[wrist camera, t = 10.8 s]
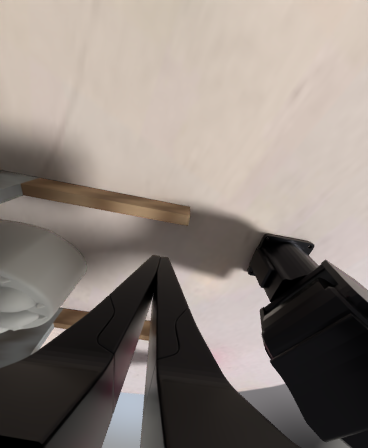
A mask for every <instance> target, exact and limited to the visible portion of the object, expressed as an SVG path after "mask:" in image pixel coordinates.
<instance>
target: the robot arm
mask: <svg viewBox="0 0 368 448" xmlns="http://www.w3.org/2000/svg"><path fill="white" fill-rule="evenodd" d="M268 237H269V239H267V238H268ZM308 246H309V247H308ZM313 248H314V244H313V243H311V242H308V241H302V240H297V239H292V238H287V237H281V236H276V235H271V234H266V235H264V236H263V238H262V241H261V243H260V245H259V247H258V248H257V249H256V251H255V253H254V255H253V258H252V260H251V262H250V266H249V268H248V270H247V272H248V274H249V275H253V276H256V278H257V280H258V283H259V285H260V286H261V288H264V290H265V292H266V294H267V296H268V298H269V300H270V302H271V303H270V304H268V305H267V306H266V307H263V308H261V309H260V317H261V326H262V338H263V342H264V346H265V350H266V352H267V354H268V356H269V357H270V359H271V360H270V363H271V364H272V366H273V367H274V368H275V369H276V371H277V372H278V373H279V375H280V376H281V377H282V379H283V380H284V382H285V384H286V385H287V387H288V388H289V390H290V392H291V394H292V395H293V397H294V399H295V401H296V403H297V405H298V407H299V409H300V411H301V413H302V415H303V417H304V419H305V421H306V423H307V424H308V425H309V426H310V427H311V428H312V430H314V432H315V433H316V434H317V435H318V436H319V437H320V438H321V439H322V440H323V441H324V442H329V441H332V440H336V439H341V440H342V441H343V442H344V443H345V444H347V445H348V446H349V447H350V448H368V290H367V289H366V288H364V287H363V286H362V285H361V284H360V283H359V282H357V281H356V280H355V279H353V278H352V277H350V276H349V275H347V274H346V273H345V272H343V271H342V270H340V269H339V268H337V267H336V266H334V265H333V264H331V263H330V262H328V261H327V260H325V261H323V262H322V263H321V265H320V266H318V265H317V264H316V263H315V262H314V261H313V260H312V259H311V258H310V256H309V254H310V253H311V251H312V250H313ZM251 271H252V272H251ZM153 293H154V294H153ZM152 298H153V300H152ZM151 301H152V310H151V322H150V334H149V346H148V359H147V371H146V383H145V395H144V408H143V420H142V431H141V444H140V448H301V447H299V446H298V445H296V444H295V443H293V442H292V441H291V440H290V439H288V438H287V437H286V436H285V435H284V434H282V433H281V432H280V431H279V430H278V429H277V428H276V427H275V426H274V425H273V424H271V422H270V421H269V420H267V419H266V418H265V417H264V416H263V415H262V414H261V413H260V412H259V411H258V410H257V409H255V408H254V407H253V406H252V405H251V404H250V403H249V402H248V401H247V400H246V399H245V398H244V397H242V396H241V395H240V394H239V393H238V392H237V391H236V390H235V389H234V388H233V387H232V386H231V384H230V383H229V382H228V380H227V379H226V378H225V376H224V375H223V373H222V371H221V370H220V368H219V366H218V364H217V362H216V361H215V359H214V357H213V355H212V353H211V352H210V350H209V348H208V346H207V344H206V342H205V341H204V339H203V337H202V335H201V333H200V331H199V329H198V327H197V325H196V323H195V321H194V319H193V316H192V314H191V311H190V309H189V307H188V304H187V302H186V299H185V297H184V294H183V292H182V289H181V287H180V284H179V282H178V279H177V277H176V275H175V272H174V270H173V267H172V265H171V262H170V260H169V258H168V257H161V258H160V256H157V255H152V256H151V257H150V258H149V259H148V260H147V261H146V262H145V263H143V264H142V265H141V266H140V267H139V268H138V269H137V270H136V271H135V272H134V273H133V274H131V275H130V276H129V277H128V278H127V279H126V280H125V281H124V282H123V283H122V284H121V285H119V286H118V287H117V288H116V289H115V290H114V291H113V292H112V293H111V294H110V295H109V296H107V297H106V298H105V299H104V300H103V301H102V302H101V303H100V304H98V305H97V306H96V307H95V308H94V309H93V310H91V311H90V312H89V313H88V314H86V315H85V316H84V317H82V318H81V319H80V320H79V321H77V322H76V323H75V324H73V325H72V326H70V327H69V328H68V329H66V330H65V331H64V332H62V333H61V334H60V335H58V336H57V337H56V338H54V339H53V340H52V341H50V342H49V343H48V344H46V345H45V346H44V347H42V348H41V349H39V350H38V351H36V352H35V353H33V354H31V355H29V356H28V357H26V358H24V359H22V360H20V361H17V362H15V363H12V364H9V365H7V366H4V367H1V368H0V448H101V447H102V445H103V442H104V439H105V436H106V433H107V430H108V427H109V424H110V421H111V418H112V414H113V413H114V410H115V407H116V404H117V401H118V398H119V395H120V392H121V389H122V386H123V383H124V380H125V378H126V375H127V372H128V369H129V366H130V363H131V360H132V357H133V354H134V351H135V348H136V345H137V342H138V340H139V337H140V334H141V331H142V328H143V325H144V322H145V319H146V316H147V313H148V310H149V307H150V304H151Z"/></svg>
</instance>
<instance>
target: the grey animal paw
mask: <svg viewBox="0 0 368 448" xmlns="http://www.w3.org/2000/svg"><path fill="white" fill-rule="evenodd" d="M86 270H87V264H86V261H85V259H84V258H83V256H82V255H81V254H80V252H79V251H78V250H77V249H76V248H75V247H74V246H73V245H72V244H70V243H69V242H68V241H66V240H65V239H63V238H62V237H60V236H59V235H57V234H56V233H54V232H52V231H50V230H47V229H44V228H41V227H37V226H34V225H30V224H25V223H20V222H14V221H8V220H0V333H3V332H5V331H7V330H13V331H16V330H19V329H27V328H33V327H37V326H40V325H42V324H44V323H46V322H47V321H48V320H50V319H51V318H52V317H53V316H54V314H55V313H56V312H57V310H58V309H59V308H60V306H61V305H62V304H63V302H64V301H65V300H66V298H67V297H68V296H69V294H70V293H71V292H72V290H73V289H74V288H75V286H76V285H77V284H78V282H79V281H80V280H81V278H82V277H83V276H84V274H85V273H86Z"/></svg>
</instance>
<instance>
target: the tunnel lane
mask: <svg viewBox="0 0 368 448" xmlns="http://www.w3.org/2000/svg"><path fill="white" fill-rule="evenodd" d="M22 195H25V196H31V197H36V198H41V199H47V200H52V201H57V202H63V203H68V204H73V205H79V206H84V207H89V208H95V209H100V210H105V211H111V212H116V213H122V214H127V215H132V216H138V217H143V218H148V219H154V220H159V221H164V222H170V223H175V224H180V225H186V226H188V223H189V219H190V207H187V206H182V205H177V204H172V203H167V202H162V201H157V200H151V199H146V198H141V197H136V196H131V195H126V194H120V193H115V192H110V191H105V190H100V189H95V188H90V187H84V186H79V185H74V184H69V183H64V182H59V181H54V180H48V179H43V178H38V177H33V176H28V175H23V174H18V173H12V172H7V171H2V170H0V204H1V203H3V202H6V201H9V200H11V199H14V198H17V197H19V196H22ZM88 313H89V312H84V311H77V310H71V309H64V308H59V309H58V310H57V312H56V313H55V314H54V316H53V317H52V318H51V319H50V320H48V321H47V322H46V323H44V324H42V325H40V326H37V327H33V328H27V329H19V330H16V331H13V330H7V331H5V332H3V333H0V368H1V367H4V366H7V365H9V364H12V363H15V362H17V361H20V360H22V359H24V358H26V357H28V356H29V355H31V354H33V353H35V352H36V351H38V350H39V349H40V347H41V346H42V344H43V343H44V341H45V340H46V339H47V337H48V336H49V334H50V333H51V331H52V330H53V328H54V327H55V328H63V329H68V328H69V327H70V326H72V325H73V324H75V323H76V322H77V321H79V320H80V319H81V318H82V317H84V316H85V315H86V314H88ZM150 322H151V321H145V322H144V325H143V328H142V331H141V334H140V337H139V339H141V340H148V341H149V334H150Z"/></svg>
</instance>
